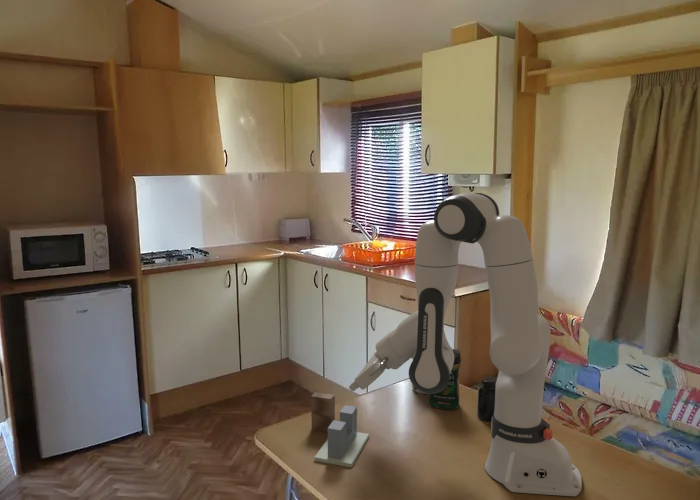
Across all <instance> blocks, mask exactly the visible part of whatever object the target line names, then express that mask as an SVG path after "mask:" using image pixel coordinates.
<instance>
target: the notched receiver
mask: <svg viewBox="0 0 700 500" xmlns="http://www.w3.org/2000/svg"><path fill="white" fill-rule="evenodd" d="M357 418H358V407H357V406H353V405H349V404H348V405H347V404H345V405H343V407H342V408H341V410H340V411H339V420H333V422H332V423H331V424H330V426H329V427H328V432H327V439H326V440H325V442H324V443H323V445H322V446H321V447H320V449H319V450H318V452H317V453H316V454H315V456H314V462H319V463H325V464H331V465H337V466H342V467H347V468H353V466H354V465H355V462H356V461H357V459H358V457H359V455H360V454H361V453H362V450H363V449H364V447H365V444H367V442H368V440H369V438H370V433H364V432H359V431H358V419H357Z"/></svg>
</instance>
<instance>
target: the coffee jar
mask: <svg viewBox="0 0 700 500" xmlns="http://www.w3.org/2000/svg"><path fill="white" fill-rule="evenodd" d="M452 350H453V352H454V363H453V366H452V370H451V373H450V377H449V383H448V385H447V387H446V388H445V389H444V390H442V391H441V392H439V393H435V394H428V404H429V406H430V407H431V408H434V409H435V408H436V409H441V410H448V411H449V410H451V411H452V410H455V409H457V408H459V406H460V385H459V371H460V368H461V366H462V358H461V351H460V349H457V348H455V349H453V348H452Z"/></svg>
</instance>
